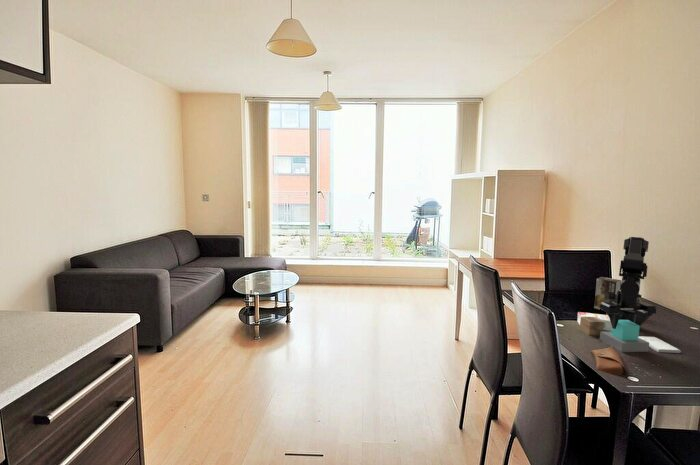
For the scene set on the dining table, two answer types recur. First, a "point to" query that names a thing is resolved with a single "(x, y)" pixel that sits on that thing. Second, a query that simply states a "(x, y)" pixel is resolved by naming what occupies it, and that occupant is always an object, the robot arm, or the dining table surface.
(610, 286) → the coffee box
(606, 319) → the ink cartridge box
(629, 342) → the charcoal plinth
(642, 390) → the dining table surface
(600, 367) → the sunglasses case
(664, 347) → the external hard drive
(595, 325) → the walnut block
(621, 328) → the teal block
